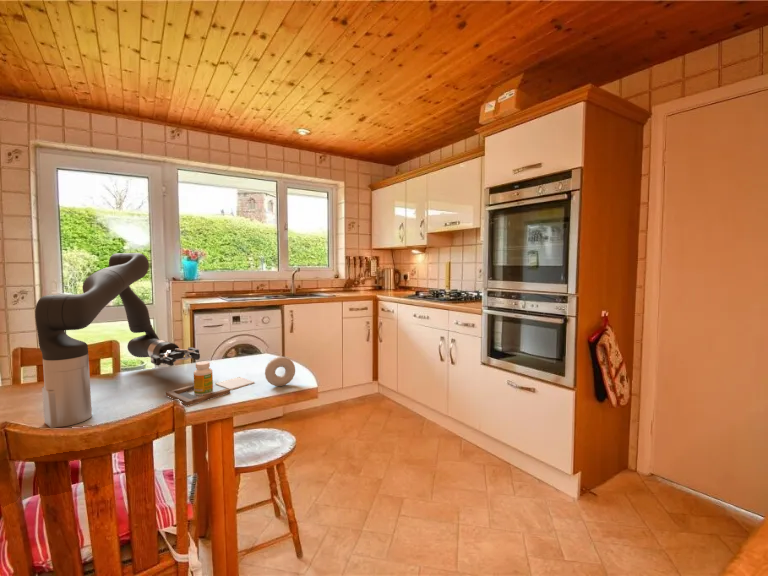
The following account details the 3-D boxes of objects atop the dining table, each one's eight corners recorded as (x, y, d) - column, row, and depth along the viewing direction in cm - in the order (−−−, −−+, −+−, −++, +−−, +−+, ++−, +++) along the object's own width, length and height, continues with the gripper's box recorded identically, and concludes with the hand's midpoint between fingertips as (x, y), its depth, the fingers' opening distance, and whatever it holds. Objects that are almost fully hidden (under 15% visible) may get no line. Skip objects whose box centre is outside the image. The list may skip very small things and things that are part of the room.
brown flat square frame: (187, 406, 112) (187, 401, 112) (165, 395, 120) (165, 391, 120) (230, 392, 123) (230, 389, 123) (207, 384, 131) (207, 380, 131)
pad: (230, 390, 125) (230, 388, 125) (215, 384, 131) (215, 383, 131) (254, 383, 132) (254, 381, 132) (239, 377, 138) (239, 376, 138)
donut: (266, 389, 126) (265, 359, 125) (264, 386, 129) (263, 357, 128) (296, 385, 130) (296, 356, 129) (294, 382, 133) (293, 353, 132)
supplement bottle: (205, 396, 120) (204, 365, 119) (190, 395, 121) (189, 364, 120) (216, 390, 125) (215, 361, 124) (201, 389, 126) (200, 360, 125)
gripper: (141, 345, 133) (162, 353, 123) (183, 337, 144) (206, 344, 134) (142, 366, 133) (164, 376, 124) (184, 357, 145) (206, 365, 135)
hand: (185, 359), depth 129 cm, fingers open, 8 cm apart
